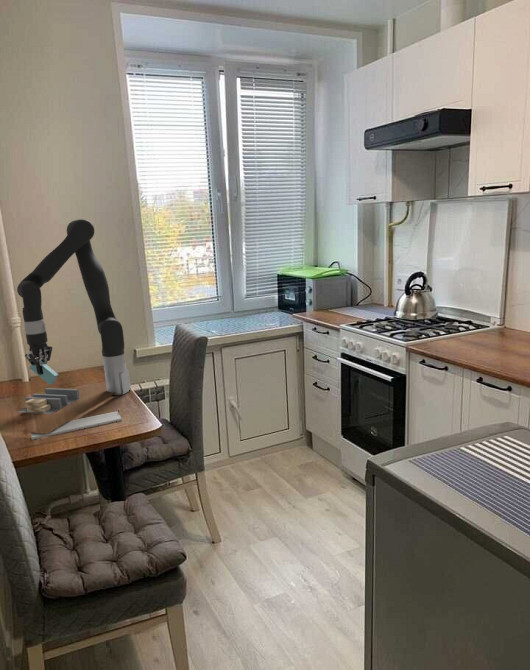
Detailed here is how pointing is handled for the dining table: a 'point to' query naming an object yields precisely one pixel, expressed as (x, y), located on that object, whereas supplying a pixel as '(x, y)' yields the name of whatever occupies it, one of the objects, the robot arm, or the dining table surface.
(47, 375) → the teal slat
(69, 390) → the rack
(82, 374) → the dining table surface
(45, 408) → the block
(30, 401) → the offcut top
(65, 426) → the baseboard molding
